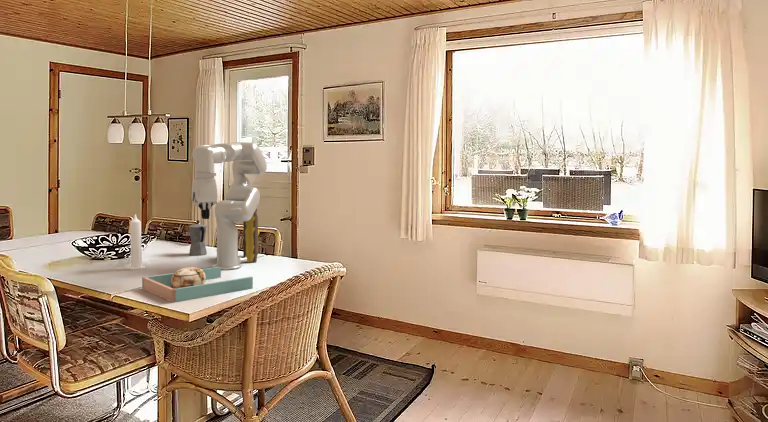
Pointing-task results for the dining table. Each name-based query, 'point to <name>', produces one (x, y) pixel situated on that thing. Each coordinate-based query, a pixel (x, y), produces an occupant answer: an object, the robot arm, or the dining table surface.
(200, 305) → the dining table surface
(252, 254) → the book
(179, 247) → the dining table surface
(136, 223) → the candle
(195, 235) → the coffeepot
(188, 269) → the trinket box
